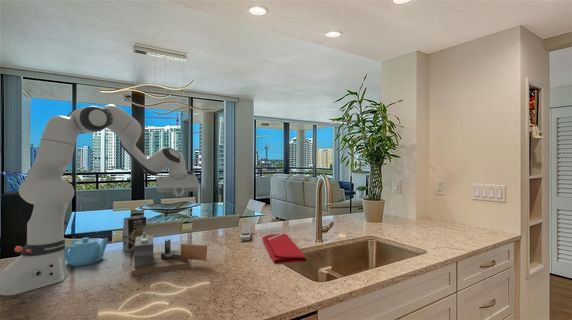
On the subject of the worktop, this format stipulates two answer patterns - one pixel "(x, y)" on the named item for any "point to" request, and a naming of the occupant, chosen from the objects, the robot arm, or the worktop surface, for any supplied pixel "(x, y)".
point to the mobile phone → (245, 232)
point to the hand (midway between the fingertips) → (179, 196)
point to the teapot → (85, 252)
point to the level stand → (153, 258)
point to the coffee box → (133, 231)
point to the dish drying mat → (282, 249)
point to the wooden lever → (185, 251)
